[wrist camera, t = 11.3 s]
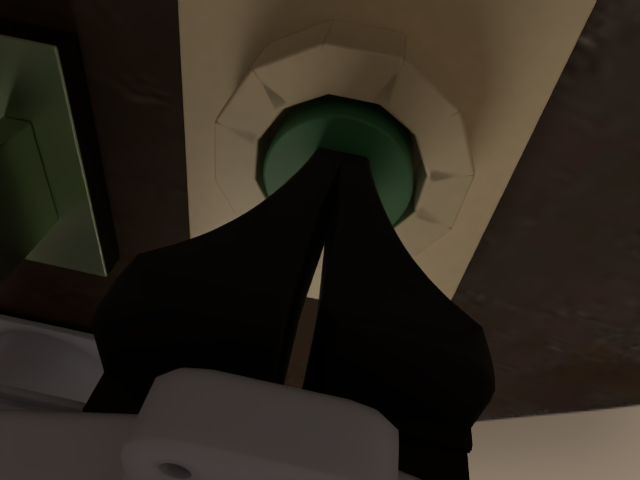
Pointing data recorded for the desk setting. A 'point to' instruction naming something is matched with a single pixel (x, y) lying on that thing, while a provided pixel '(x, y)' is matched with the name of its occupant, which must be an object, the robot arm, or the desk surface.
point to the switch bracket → (49, 157)
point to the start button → (345, 145)
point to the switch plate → (375, 100)
